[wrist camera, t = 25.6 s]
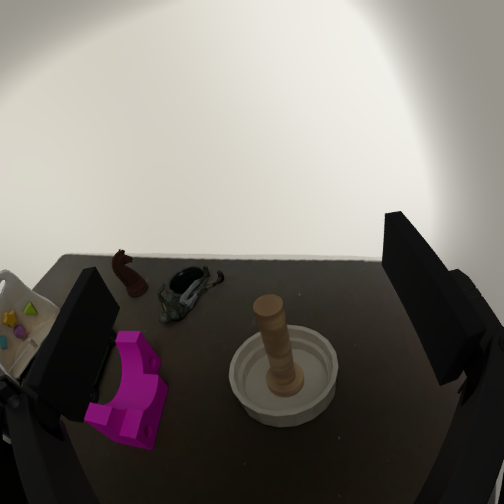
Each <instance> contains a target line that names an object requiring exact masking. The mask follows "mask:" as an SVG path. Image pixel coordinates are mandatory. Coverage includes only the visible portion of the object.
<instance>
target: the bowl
mask: <svg viewBox="0 0 504 504" xmlns="http://www.w3.org/2000/svg"><path fill="white" fill-rule="evenodd" d="M287 327H288V333H289V339H290V344H291V350H292V356H293V362H295V363H297V364H298V365H299V366H300V367H301V368H302V370H303V373H304V385H303V388H302V389H301V390H300V391H299V392H298V393H297V394H296V395H294V396H291V397H286V398H283V397H278V396H276V395H274V394H273V393H271V391H270V390H269V388H268V385H267V382H266V374H267V372H268V370H269V368H270V364H269V361H268V357H267V354H266V350H265V347H264V343H263V340H262V336H261V333H260V332H258V333H256V334H255V335H253V336H252V337H250V338H249V339H247V340H246V341H245V342H244V343H243V344H242V345H241V347H240V348H239V349H238V350H237V351H236V353H235V355H234V357H233V359H232V361H231V364H230V371H229V380H230V384H231V387H232V390H233V393H234V395H235V396H236V398H237V400H238V402H239V403H240V405H241V406H242V408H243V409H244V410H245V411H246V413H247V414H248V415H249V416H250V417H252V418H253V419H255V420H257V421H259V422H260V423H262V424H265V425H270V426H275V427H290V426H298V425H300V424H303V423H305V422H308V421H310V420H313V419H314V418H315V417H317V416H318V415H319V414H320V413H322V412H323V411H324V410H325V409H326V408H327V407H328V405H329V404H330V402H331V400H332V399H333V397H334V395H335V391H336V387H337V382H338V361H337V355H336V352H335V350H334V349H333V347H332V346H331V344H330V342H329V341H328V340H327V339H326V338H324V337H323V336H322V335H321V334H319V333H318V332H316V331H313V330H311V329H308V328H306V327H303V326H293V325H287Z"/></svg>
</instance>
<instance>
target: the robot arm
mask: <svg viewBox="0 0 504 504" xmlns="http://www.w3.org/2000/svg"><path fill="white" fill-rule="evenodd" d="M382 266H383V268H384V270H385V272H386V274H387V276H388V277H389V279H390V281H391V283H392V285H393V287H394V289H395V290H396V292H397V294H398V296H399V298H400V300H401V302H402V304H403V306H404V308H405V310H406V312H407V314H408V316H409V318H410V320H411V322H412V324H413V326H414V328H415V330H416V332H417V335H418V337H419V339H420V341H421V343H422V345H423V348H424V350H425V352H426V354H427V357H428V359H429V361H430V363H431V366H432V368H433V370H434V373H435V375H436V378H437V380H438V383H439V385H440V386H441V385H444V384H446V383H449V382H452V381H454V380H456V379H458V378H459V376H460V375H461V373H462V372H463V370H464V372H465V374H466V376H467V378H466V380H465V381H464V382H463V384H462V385H461V387H460V388H459V390H458V392H457V393H459V394H460V392H461V391H462V393H461V396H460V399H459V402H458V405H457V408H456V411H455V414H454V417H453V420H452V422H451V425H450V428H449V430H448V433H447V435H446V438H445V440H444V443H443V445H442V448H441V450H440V452H439V455H438V457H437V459H436V461H435V463H434V465H433V468H432V470H431V472H430V474H429V476H428V478H427V480H426V482H425V484H424V486H423V487H422V489H421V491H420V493H419V495H418V497H417V498H416V500H415V502H414V504H487V503H488V500H489V498H490V495H491V493H492V491H493V488H494V486H495V483H496V480H497V478H498V475H499V472H500V469H501V466H502V463H503V460H504V327H503V326H502V325H501V323H500V322H499V320H498V318H497V317H496V315H495V314H494V312H493V311H492V309H491V308H490V306H489V305H488V303H487V302H486V300H485V299H484V297H482V296H481V293H480V292H479V290H478V289H476V286H475V285H474V283H473V282H472V281H471V279H470V278H469V277H468V276H467V275H466V274H464V273H463V272H461V271H460V270H459V269H455V270H451V271H448V269H447V268H446V267H445V265H444V264H443V263H442V261H441V260H440V259H439V257H438V256H437V255H436V253H435V252H434V251H433V249H432V248H431V247H430V246H429V244H428V243H427V242H426V241H425V239H424V238H423V237H422V236H421V234H420V233H419V232H418V231H417V230H416V228H415V227H414V226H413V225H412V224H411V222H410V221H409V220H408V219H407V218H406V217H405V215H404V214H403V213H402V212H401V211H398V212H392V213H385V225H384V242H383V256H382ZM119 309H120V307H119V305H118V304H117V302H116V301H115V299H114V297H113V296H112V294H111V293H110V291H109V289H108V288H107V286H106V284H105V283H104V281H103V279H102V277H101V276H100V274H99V272H98V270H97V269H96V267H91V268H86V269H83V271H82V272H81V274H80V276H79V278H78V279H77V281H76V283H75V284H74V286H73V288H72V290H71V292H70V293H69V295H68V297H67V299H66V301H65V302H64V304H63V306H62V308H61V310H60V312H59V314H58V316H57V318H56V320H55V322H54V324H53V326H52V328H51V330H50V332H49V334H48V335H47V336H46V337H45V339H44V340H43V341H42V343H41V345H40V347H39V349H38V353H37V354H36V356H35V358H34V359H35V360H33V363H32V365H31V367H30V370H29V372H28V374H27V377H26V379H25V382H24V384H23V386H22V388H21V387H20V386H19V385H18V384H17V383H16V382H15V381H14V380H13V379H12V378H11V377H10V376H8V375H3V376H1V377H0V504H100V503H99V501H98V499H97V497H96V495H95V493H94V491H93V489H92V487H91V485H90V483H89V481H88V479H87V477H86V475H85V473H84V471H83V469H82V467H81V464H80V462H79V460H78V458H77V455H76V453H75V450H74V448H73V446H72V443H71V440H70V438H69V435H68V433H67V430H66V427H65V424H64V423H63V421H62V420H60V416H61V414H62V415H63V416H65V417H66V418H67V419H69V420H70V421H75V422H81V423H83V421H84V417H85V413H86V410H87V406H88V402H89V399H90V395H91V392H92V389H93V385H94V382H95V379H96V375H97V372H98V369H99V366H100V363H101V360H102V357H103V354H104V351H105V348H106V345H107V342H108V339H109V336H110V334H111V331H112V328H113V325H114V323H115V320H116V317H117V315H118V312H119ZM3 434H4V435H5V436H7V437H8V438H10V439H11V444H8V443H7V442H5V441H4V440H3ZM498 504H504V473H503V480H502V486H501V491H500V496H499V500H498Z"/></svg>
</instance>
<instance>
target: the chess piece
mask: <svg viewBox="0 0 504 504" xmlns="http://www.w3.org/2000/svg"><path fill="white" fill-rule="evenodd" d="M124 253H125V251H124V250H121V251H120V249H119V251H118V252H117V253H116V254H115V255H114V257H113V259H112V268H113V271H114V273H115V274H116V276H117V277H118V278H119V279H120V280H121V281H122V282H123V284H124V285H125V286H126V289H127V292H128V294H129V296H131V297H138V296H141V295H142V294H144V293H145V292H146V290H147V288H148V285H147V283H146V282H145V280H144V279H143V278H142V277H141V276H140V275H139V274H138V273H137V272H135V271H134V270H132V269H131V268H129V267H127V266H125V265H124V264H127V263H129V262H132V260H133V259H132V257H130V256H127V255H125V254H124Z"/></svg>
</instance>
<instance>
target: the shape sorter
mask: <svg viewBox="0 0 504 504" xmlns="http://www.w3.org/2000/svg"><path fill="white" fill-rule="evenodd" d="M2 280H5V285H4V287H3V289H2V292H1V294H0V368H1V369H2V370H3V371H4V372H5V374H6V375H8V376H10V377H11V378H12V379H13V380H14V381H15V382H16V383H17V384H18V385H20V382H19V380H18V378H19V379H21V378H20V375H21V374H22V372H23V371H24V369H25V368H26V367H27V365H28V364H29V362H30V361H31V360H32V358H33V357H34V356H35V354H36V353H38V349H39V347H40V345H41V343H42V341H43V340H44V339H45V337H46V336H47V335H48V334H49V332H50V330H51V328H52V326H53V324H54V322H55V320H56V318H57V316H58V314H59V312H60V309H59V308H58V307H57V306H56V305H55V304H54V303H52V302H51V301H49V300H48V299H46V298H44V297H42V296H40V295H39V294H37V293H35V292H34V291H32V290H31V289H29V288H28V287H27V286H26V285H24V283H23V282H22V281H21V280H20V279H19V278H18V277H17V276H16V275H14V274H13V273H11V272H10V271H8V270H2V271H1V272H0V282H1V281H2Z"/></svg>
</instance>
